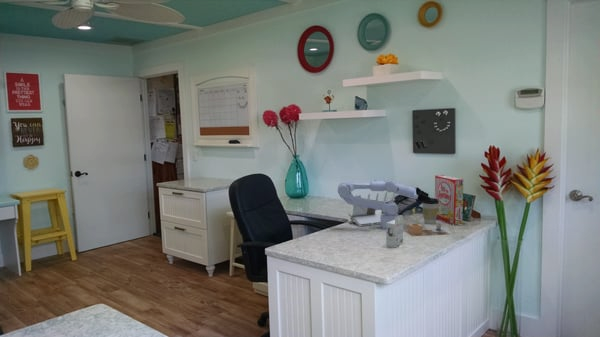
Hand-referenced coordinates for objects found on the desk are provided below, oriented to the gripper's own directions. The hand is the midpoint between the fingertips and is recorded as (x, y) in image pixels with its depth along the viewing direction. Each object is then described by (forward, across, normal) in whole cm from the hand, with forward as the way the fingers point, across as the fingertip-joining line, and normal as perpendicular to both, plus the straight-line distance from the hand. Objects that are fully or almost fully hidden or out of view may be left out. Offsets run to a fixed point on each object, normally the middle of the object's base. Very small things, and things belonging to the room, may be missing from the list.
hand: (429, 197), depth 247 cm
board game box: (+20, +21, +16) cm, 33 cm away
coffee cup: (+8, +12, +18) cm, 23 cm away
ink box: (-16, -35, +20) cm, 43 cm away
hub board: (+2, -13, +17) cm, 21 cm away
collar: (-4, -14, +17) cm, 23 cm away
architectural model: (-22, +16, +28) cm, 39 cm away
